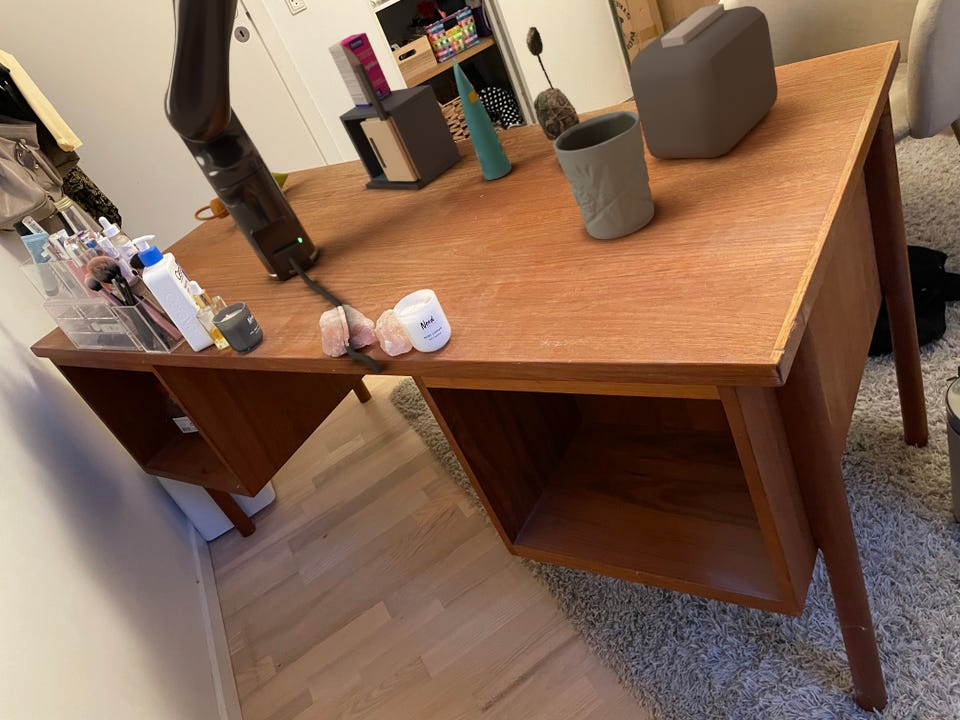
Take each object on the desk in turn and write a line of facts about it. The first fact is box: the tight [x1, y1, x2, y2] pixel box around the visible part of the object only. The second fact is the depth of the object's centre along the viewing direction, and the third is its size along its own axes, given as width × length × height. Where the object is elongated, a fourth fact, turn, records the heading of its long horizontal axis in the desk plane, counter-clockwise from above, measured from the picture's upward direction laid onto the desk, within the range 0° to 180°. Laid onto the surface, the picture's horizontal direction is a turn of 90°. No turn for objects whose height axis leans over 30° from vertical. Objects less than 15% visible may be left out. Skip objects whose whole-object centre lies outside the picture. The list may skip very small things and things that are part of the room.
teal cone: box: [452, 56, 512, 181], centre depth 111 cm, size 7×5×19 cm, turn 13°
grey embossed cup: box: [552, 110, 655, 240], centre depth 82 cm, size 10×10×12 cm
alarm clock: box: [629, 3, 779, 160], centre depth 89 cm, size 16×11×16 cm
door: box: [355, 63, 417, 181], centre depth 123 cm, size 1×9×22 cm, turn 44°
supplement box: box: [327, 32, 392, 107], centre depth 127 cm, size 6×6×12 cm
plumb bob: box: [193, 171, 289, 222], centre depth 155 cm, size 9×9×25 cm
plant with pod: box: [525, 26, 581, 168], centre depth 102 cm, size 8×11×20 cm
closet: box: [338, 84, 463, 191], centre depth 130 cm, size 12×18×14 cm, turn 44°
